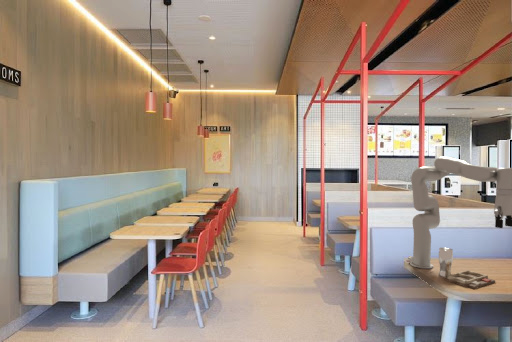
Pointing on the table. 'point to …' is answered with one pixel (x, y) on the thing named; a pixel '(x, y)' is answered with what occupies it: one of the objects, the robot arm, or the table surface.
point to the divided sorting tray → (469, 279)
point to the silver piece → (445, 261)
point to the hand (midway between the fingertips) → (503, 226)
